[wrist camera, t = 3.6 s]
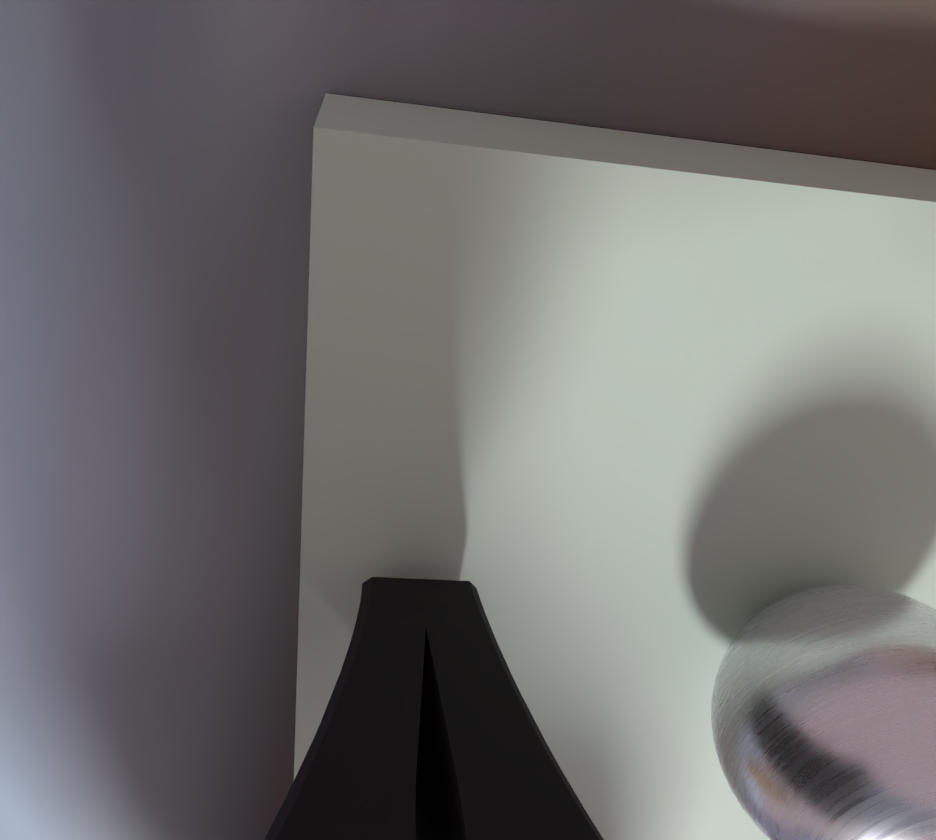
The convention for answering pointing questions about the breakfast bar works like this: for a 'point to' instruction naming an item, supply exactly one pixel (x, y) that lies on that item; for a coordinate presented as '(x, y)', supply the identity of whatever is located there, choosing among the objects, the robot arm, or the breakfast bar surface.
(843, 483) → the hole plate
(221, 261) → the breakfast bar surface
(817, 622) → the steel ball
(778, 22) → the breakfast bar surface
